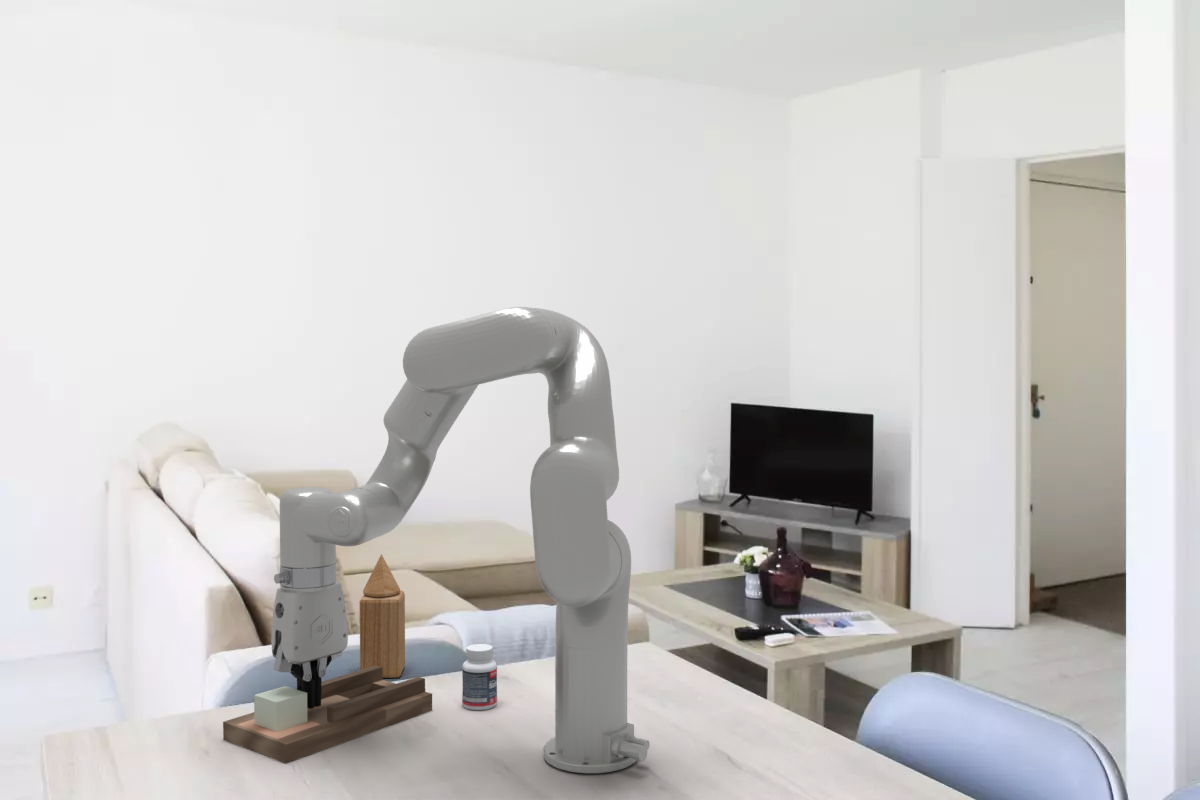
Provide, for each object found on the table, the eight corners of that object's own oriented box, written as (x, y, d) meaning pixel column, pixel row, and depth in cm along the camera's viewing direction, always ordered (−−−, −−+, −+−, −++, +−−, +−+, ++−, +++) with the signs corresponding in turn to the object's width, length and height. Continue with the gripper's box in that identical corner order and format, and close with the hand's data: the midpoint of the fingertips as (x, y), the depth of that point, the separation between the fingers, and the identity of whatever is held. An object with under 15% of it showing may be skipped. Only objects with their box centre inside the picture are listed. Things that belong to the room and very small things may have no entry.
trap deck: (432, 710, 160) (432, 680, 160) (286, 763, 139) (285, 729, 139) (369, 691, 169) (369, 663, 168) (223, 739, 148) (222, 707, 148)
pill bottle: (494, 711, 160) (494, 652, 159) (459, 711, 160) (459, 652, 159) (498, 699, 165) (498, 642, 165) (465, 699, 165) (464, 642, 165)
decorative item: (366, 667, 182) (365, 550, 181) (405, 666, 182) (404, 549, 181) (359, 679, 175) (358, 557, 174) (400, 678, 175) (399, 557, 175)
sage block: (307, 721, 148) (307, 692, 148) (276, 731, 144) (276, 702, 144) (285, 714, 151) (285, 686, 151) (254, 723, 147) (254, 694, 147)
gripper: (279, 589, 142) (280, 726, 143) (367, 571, 154) (368, 697, 155) (245, 581, 146) (247, 714, 147) (334, 564, 158) (335, 687, 159)
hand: (309, 705), depth 151 cm, fingers closed
